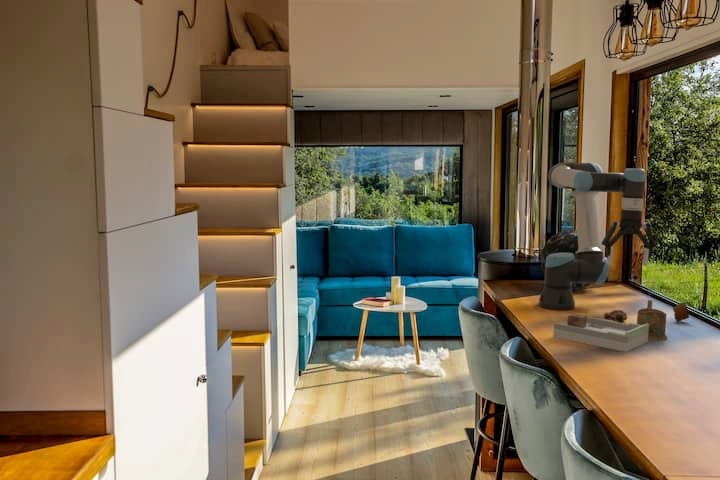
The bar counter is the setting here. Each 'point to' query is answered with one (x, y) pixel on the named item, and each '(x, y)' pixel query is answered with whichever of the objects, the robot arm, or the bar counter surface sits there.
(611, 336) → the grey rectangular tray
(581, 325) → the block
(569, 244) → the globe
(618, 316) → the figurine
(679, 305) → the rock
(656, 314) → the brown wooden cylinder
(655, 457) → the bar counter surface
